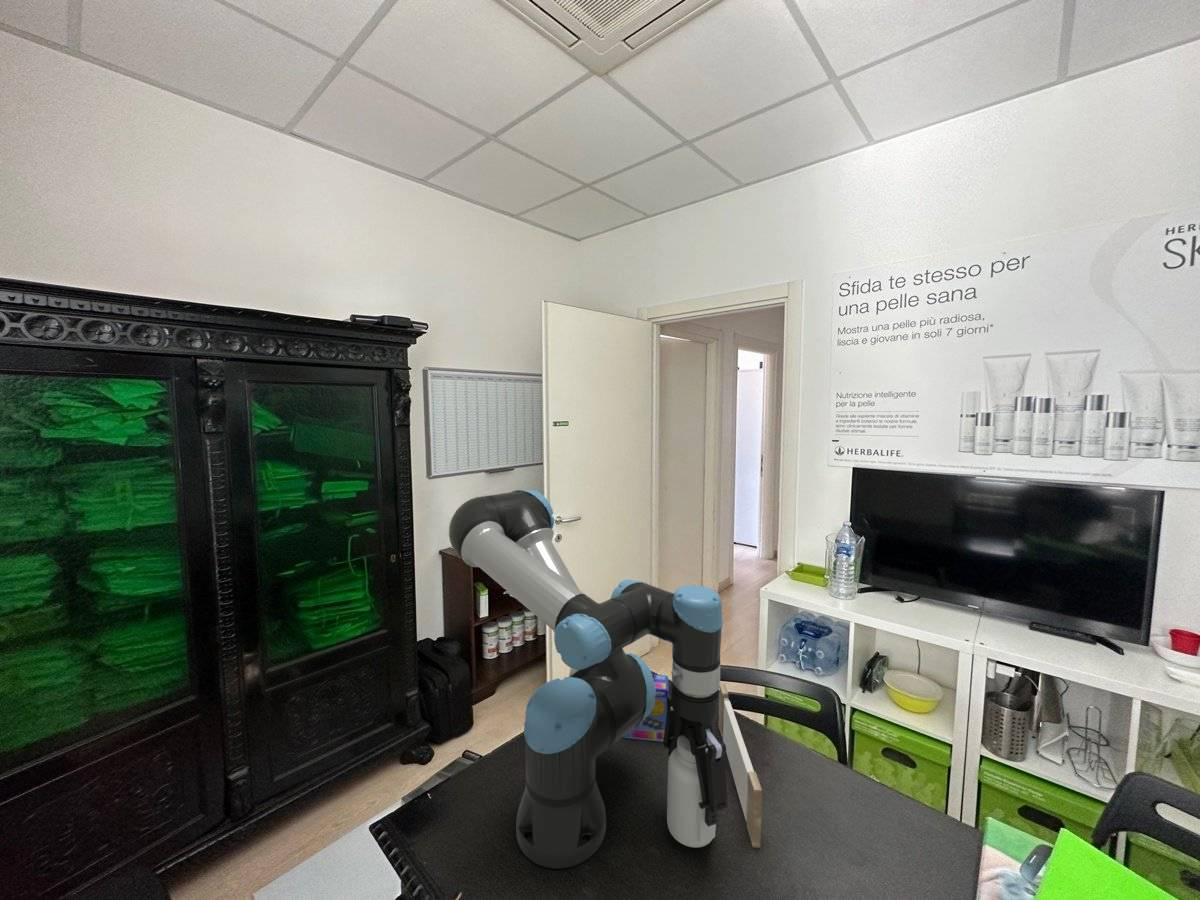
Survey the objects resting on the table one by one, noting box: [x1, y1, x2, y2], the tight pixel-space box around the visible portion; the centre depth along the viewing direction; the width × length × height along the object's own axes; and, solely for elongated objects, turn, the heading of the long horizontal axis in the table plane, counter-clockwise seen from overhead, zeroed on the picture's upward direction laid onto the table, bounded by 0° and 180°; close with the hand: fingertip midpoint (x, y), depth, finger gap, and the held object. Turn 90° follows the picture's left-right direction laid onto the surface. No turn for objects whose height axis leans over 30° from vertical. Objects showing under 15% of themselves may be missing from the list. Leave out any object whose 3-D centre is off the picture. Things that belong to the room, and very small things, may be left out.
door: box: [722, 697, 755, 823], centre depth 90 cm, size 1×21×9 cm, turn 176°
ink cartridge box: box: [622, 673, 669, 743], centre depth 102 cm, size 10×6×14 cm, turn 83°
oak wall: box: [718, 683, 763, 849], centre depth 90 cm, size 1×29×10 cm, turn 177°
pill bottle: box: [666, 735, 717, 848], centre depth 77 cm, size 8×8×15 cm
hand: (691, 815), depth 77 cm, fingers closed on pill bottle, 8 cm apart
